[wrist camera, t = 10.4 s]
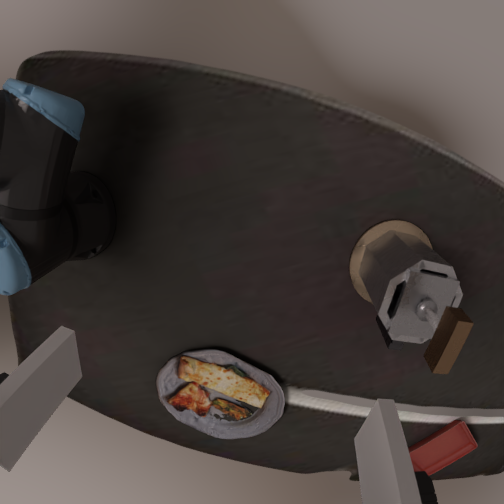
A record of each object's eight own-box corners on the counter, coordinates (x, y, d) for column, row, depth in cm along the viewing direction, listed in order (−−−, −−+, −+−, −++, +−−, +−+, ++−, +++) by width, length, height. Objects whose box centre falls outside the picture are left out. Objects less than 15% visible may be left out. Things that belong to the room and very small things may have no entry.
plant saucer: (475, 438, 59) (478, 447, 56) (418, 471, 64) (421, 480, 61) (459, 410, 56) (464, 420, 53) (394, 449, 61) (397, 459, 58)
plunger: (371, 291, 44) (409, 375, 27) (385, 246, 42) (439, 312, 24) (412, 299, 44) (463, 378, 26) (427, 256, 42) (493, 321, 24)
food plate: (145, 396, 62) (139, 406, 59) (185, 322, 55) (180, 333, 51) (246, 442, 65) (244, 454, 61) (306, 382, 57) (307, 395, 54)
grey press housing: (336, 302, 50) (350, 357, 36) (362, 210, 45) (391, 238, 31) (412, 315, 49) (443, 367, 36) (442, 230, 44) (489, 263, 31)
